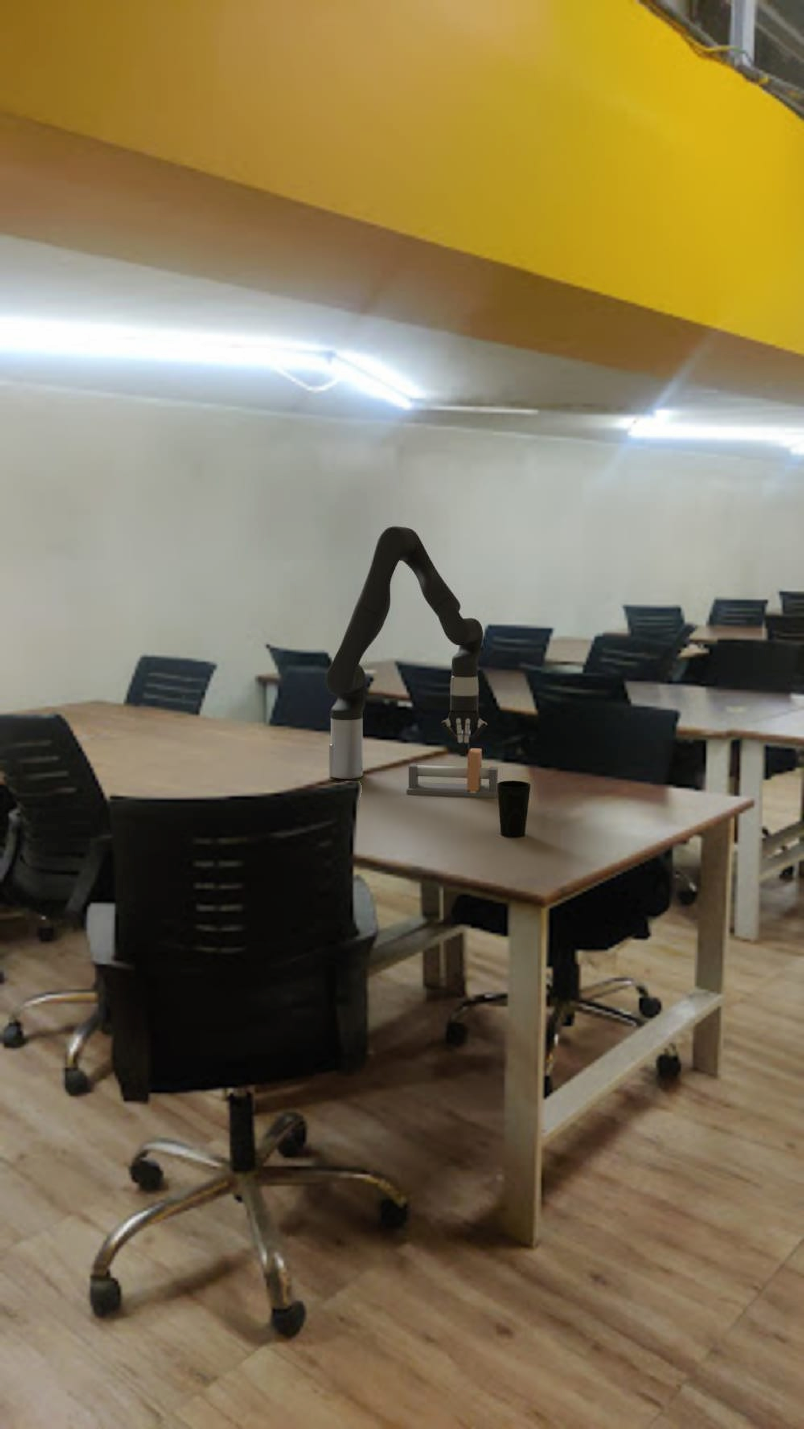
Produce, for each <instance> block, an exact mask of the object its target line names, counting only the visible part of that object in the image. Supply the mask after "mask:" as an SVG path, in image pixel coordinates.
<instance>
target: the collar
mask: <svg viewBox="0 0 804 1429" xmlns="http://www.w3.org/2000/svg"><path fill="white" fill-rule="evenodd" d="M482 752H483V751H482V748H475V747H474V748H472V747H471V748H469V753H468V754H467V767H468V771H467V778H466V780H467V783H466V784H467V790H470V791H478V790H479V788H480V786H481V785H482V779H479V768H483V767H482V763H483V762H482V760H483V759H482V758H483V756H482V754H483V753H482Z"/></svg>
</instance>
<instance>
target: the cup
mask: <svg viewBox="0 0 804 1429" xmlns="http://www.w3.org/2000/svg"><path fill="white" fill-rule="evenodd" d="M531 787H532V786H531V784H530V782H527V781H522V780H502V781H499V782H498V784H497V789H498V792H497V797H498V798H497V799H498V813H499V824H500V825H499V826H500V835H501V836H502V837H505V838H510V839H512V838H513V839H519V838H523V837H525V835H526V827H527V819H528V818H527V817H528V810H529V803H530V802H529V801H530V792H531Z"/></svg>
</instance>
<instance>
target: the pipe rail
mask: <svg viewBox="0 0 804 1429" xmlns="http://www.w3.org/2000/svg"><path fill="white" fill-rule="evenodd" d="M498 770H499V767H498V766H489V767H481V768H479V779H481V780H488V784H481V786H480V788H479V790H478V791H470V790H467V783H451V782H449V783H448V782H429V781H427V782H426V781H419V777H433V778H452V779H454V778H455V779H456V778H457V779H467V771H468V766H450V765H449V766H447V765H425V764H424V765H422V764H421V765H419V763H410V764H409V765H408V787H407V789H406V795H420V796H421V795H422V796H444V797H465V798H466V797H467V798H468V797H469V798H488V799H489V798H490V799H491V798H492V799H495V798H496V797H497V796H498V789H497V784H498V783H499V782H498V779H499V777H498V774H499V772H498Z"/></svg>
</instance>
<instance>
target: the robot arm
mask: <svg viewBox="0 0 804 1429" xmlns="http://www.w3.org/2000/svg"><path fill="white" fill-rule="evenodd" d="M399 561H401V562H403V563H405V564H406V565H407V566H408V568H410V570H411V571H412V572H413V573H414V575H415V577H416V579H417V580H418V584H419V588H420V591H421V593H422V597H424V599H425V601H426V603H427V604H428V606H429V607H430V608H431V610H432V611H433V612H434V614H435V615H436V616H437V618H438V620H439V624H440V625H441V628H442V630H443V633H444V635H445V637H446V638H447V639H448V641H450V642H451V643H452V644H453V645H456V646H459V648H458V651H457V653H455V654H454V655H453V656H452V659H451V677H450V693H449V694H450V700H449V701H450V702H449V703H450V705H449V706H450V708H449V711H450V712H449V714H448V716H447V717H448V718H446V719H445V720H442V721H441V722H440V726H441V727H442V728H443V730H444V731H445V732H446V734H447V735H448V737H449V738H450V739H451V740H452V741H455V742H457V754H458V755H460V757H467V756H468V753H469V751H470V743H471V742H475V740H476V739H477V738H478V737H479V736H480V735H481V733H482V732H483V731H484V730H485V729H486V727H487V726H488V723H487V721H484V720H482V718H481V716H480V714H479V692H480V690H479V679H478V678H479V677H478V671H479V669H478V668H479V664H478V663H479V657H480V654H481V651H482V650H481V648H482V645H483V640H484V631H483V626H482V624H481V622H480V621H479V620H478V619H476V618H474V617H468V618H467V617H466V618H463V617H462V615H461V613H460V610H461V603H460V601H459V599H458V598H457V597H456V596H455V594H454V593H453V592H452V590H451V589H450V587H449V586H448V584H447V583H446V581H445V580H444V579H443V578H442V576H441V575H440V573H439V572H438V570H437V568H436V567H435V565H434V563H433V560H431V557H430V556H429V554H428V551H427V550H426V548H425V546H424V544H423V542H422V540H421V538H420V537H419V535H418V534H417V532H416V531H415V530H413V529H411V528H410V527H406V526H396V525H391V526H387V527H386V528H385V529H383V530H382V532H380V535H379V537H378V539H377V542H376V545H375V550H374V553H373V558H372V560H371V564H370V567H369V570H368V573H367V576H366V578H365V581H364V583H363V587H362V589H361V592H360V594H359V597H358V599H357V602H356V604H355V606H354V608H353V611H352V614H351V618H350V620H349V623H348V626H347V627H346V630H345V633H344V636H343V638H342V641H341V644H340V646H339V647H338V650H337V652H336V654H335V656H334V658H333V660H332V662H331V664H330V666H329V668H328V670H327V671H326V674H325V685H326V688H327V690H328V692H329V693H330V694H331V695H333V696H336V697H337V698H336V701H335V703H334V704H333V706H332V707H331V709H330V744H328V763H329V764H328V769H329V770H328V776H329V777H330V778H336V779H340V780H341V779H342V780H343V779H345V780H347V779H350V780H351V779H358V778H362V777H363V774H364V773H363V772H364V770H363V769H364V767H363V766H364V765H363V764H364V761H363V760H364V759H363V749H364V748H363V744H364V743H363V742H364V741H363V740H364V739H363V737H364V735H363V712H364V710H365V707H366V694H367V693H366V692H367V677H366V673H365V671H364V668H363V667H362V665H360V662H361V659H362V657H363V656H364V654H365V653H366V651H367V650H368V648H369V647H370V646H371V645H372V643H373V642H374V641H375V639H376V638H377V637H378V635H379V634H380V632H381V631H382V629H383V627H384V625H385V621H386V619H387V616H388V614H389V611H390V609H391V608H390V607H391V581H392V578H393V575H394V572H395V570H396V568H397V565H398V564H399ZM451 725H452V726H453V727H454V729H455V730H456V733H455V731H454V730H453V728H452V727H451ZM476 725H477V729H476V731H475V732H474V733H473V734H472V735H471V730H472V729H474V727H475V726H476Z"/></svg>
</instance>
